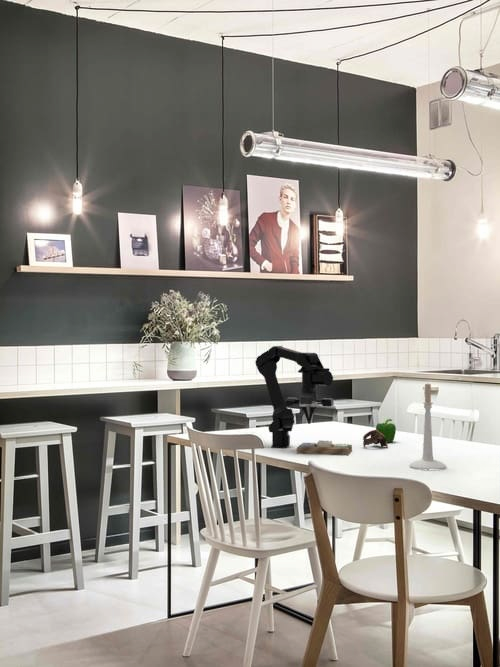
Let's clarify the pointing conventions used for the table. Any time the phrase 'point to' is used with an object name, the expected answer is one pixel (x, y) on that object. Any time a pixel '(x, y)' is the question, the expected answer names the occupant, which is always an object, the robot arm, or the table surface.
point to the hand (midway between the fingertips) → (309, 423)
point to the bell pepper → (387, 430)
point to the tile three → (341, 446)
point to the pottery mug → (374, 438)
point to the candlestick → (427, 439)
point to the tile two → (324, 443)
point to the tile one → (308, 444)
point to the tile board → (324, 450)
